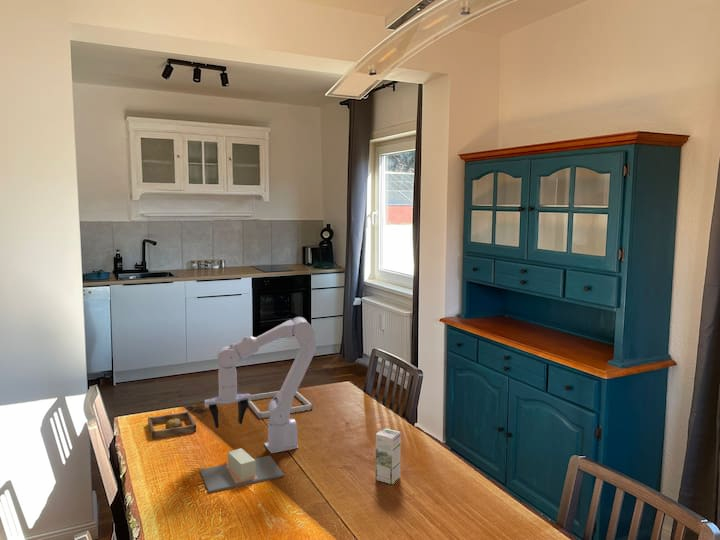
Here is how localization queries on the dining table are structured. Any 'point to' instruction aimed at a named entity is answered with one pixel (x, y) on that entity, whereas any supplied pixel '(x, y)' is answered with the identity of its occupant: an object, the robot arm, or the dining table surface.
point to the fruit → (174, 423)
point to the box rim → (272, 394)
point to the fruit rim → (172, 431)
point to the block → (241, 464)
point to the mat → (226, 479)
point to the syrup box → (388, 455)
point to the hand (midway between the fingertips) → (228, 424)
